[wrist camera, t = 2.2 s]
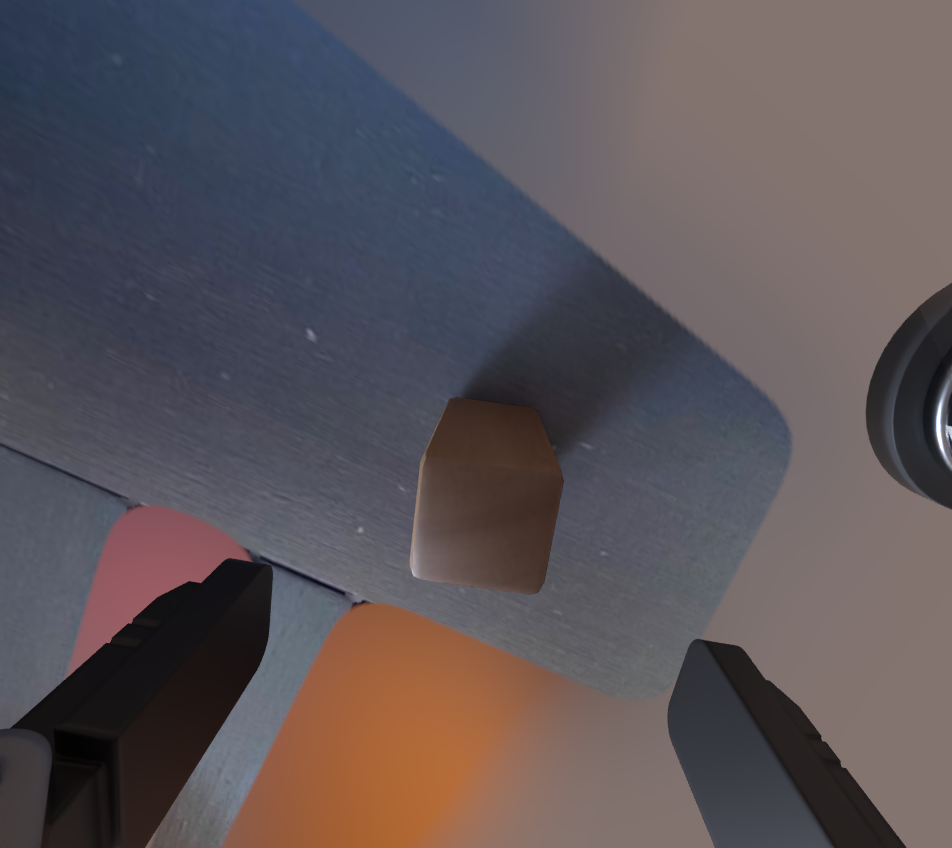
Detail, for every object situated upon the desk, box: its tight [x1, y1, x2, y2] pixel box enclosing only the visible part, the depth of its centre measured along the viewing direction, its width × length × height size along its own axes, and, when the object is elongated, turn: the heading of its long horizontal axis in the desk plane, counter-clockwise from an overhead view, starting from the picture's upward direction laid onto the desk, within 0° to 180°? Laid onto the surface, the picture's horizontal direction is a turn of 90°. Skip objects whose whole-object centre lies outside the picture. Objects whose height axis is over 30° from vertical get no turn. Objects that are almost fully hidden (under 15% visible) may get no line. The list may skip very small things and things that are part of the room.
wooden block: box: [410, 397, 564, 594], centre depth 17 cm, size 4×4×8 cm
